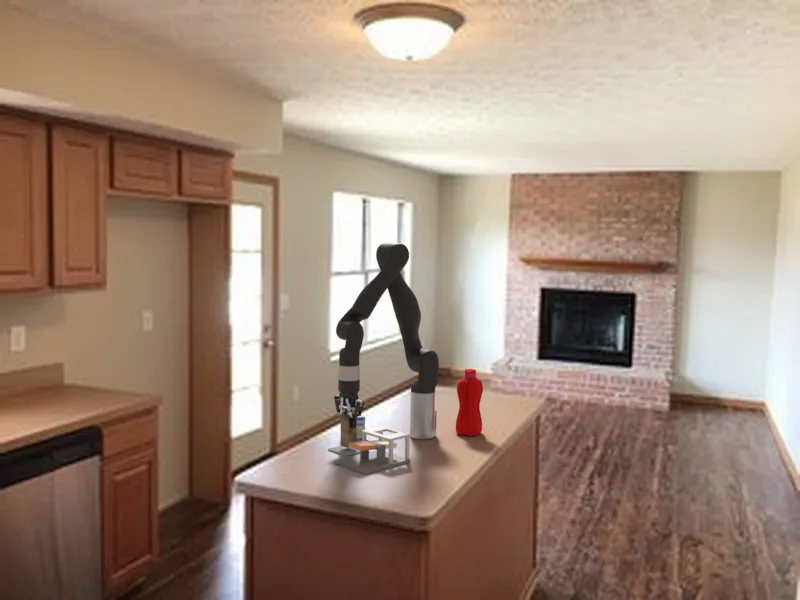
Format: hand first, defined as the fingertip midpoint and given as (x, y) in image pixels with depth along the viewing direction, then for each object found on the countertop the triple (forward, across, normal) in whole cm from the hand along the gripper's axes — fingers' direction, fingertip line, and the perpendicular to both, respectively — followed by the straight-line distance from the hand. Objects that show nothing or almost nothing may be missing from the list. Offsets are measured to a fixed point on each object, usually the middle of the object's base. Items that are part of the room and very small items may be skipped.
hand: (348, 426), depth 248 cm
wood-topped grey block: (+7, 0, 0) cm, 7 cm away
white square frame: (+9, -16, +3) cm, 18 cm away
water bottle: (+9, -13, -49) cm, 51 cm away
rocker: (+3, -16, +3) cm, 16 cm away
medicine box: (+9, +10, -11) cm, 17 cm away
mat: (+9, 0, 0) cm, 9 cm away
